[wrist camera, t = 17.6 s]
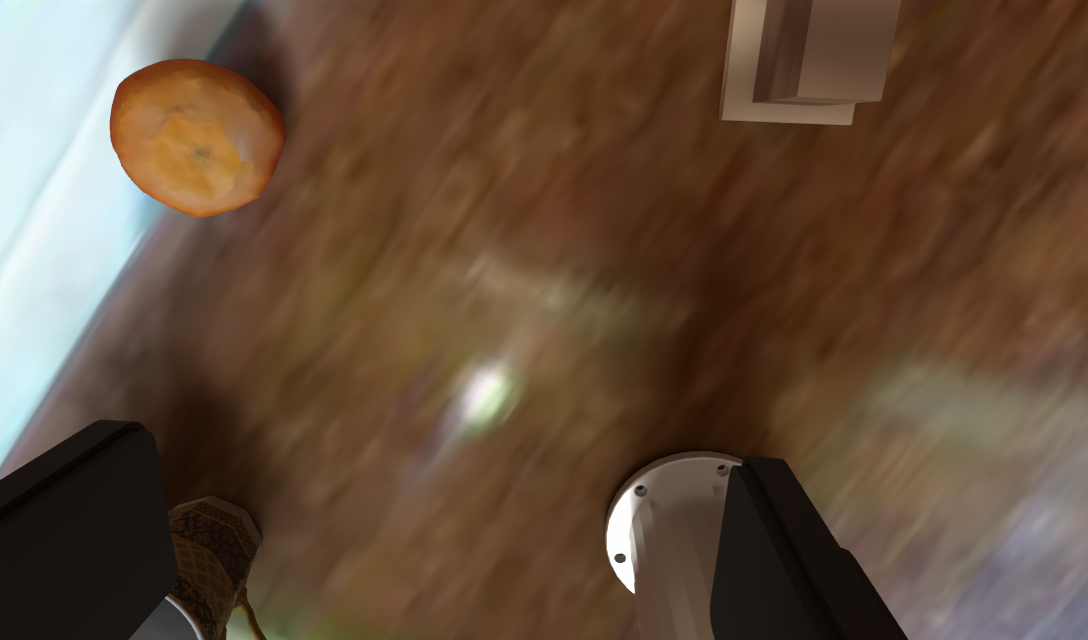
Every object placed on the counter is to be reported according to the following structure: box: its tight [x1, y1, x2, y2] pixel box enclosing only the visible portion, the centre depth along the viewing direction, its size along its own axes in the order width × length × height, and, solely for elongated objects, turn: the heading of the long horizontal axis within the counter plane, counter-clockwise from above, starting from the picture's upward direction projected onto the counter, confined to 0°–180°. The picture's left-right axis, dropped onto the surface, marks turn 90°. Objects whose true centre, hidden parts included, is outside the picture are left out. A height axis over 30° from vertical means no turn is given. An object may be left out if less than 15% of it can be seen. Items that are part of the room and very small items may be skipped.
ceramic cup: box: [129, 496, 267, 640], centre depth 40 cm, size 13×10×10 cm
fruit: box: [110, 59, 286, 218], centre depth 33 cm, size 8×8×8 cm
